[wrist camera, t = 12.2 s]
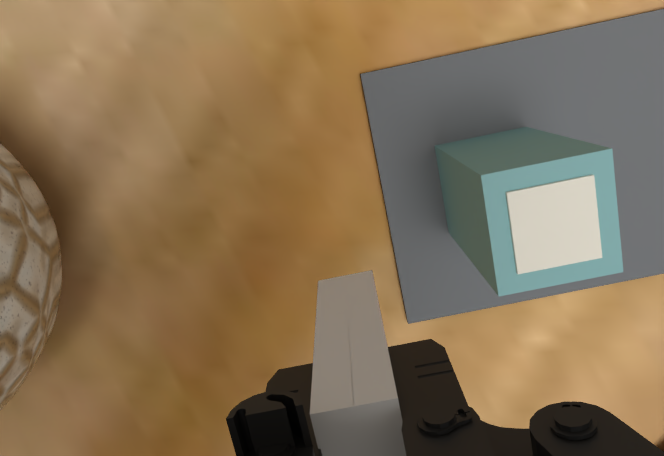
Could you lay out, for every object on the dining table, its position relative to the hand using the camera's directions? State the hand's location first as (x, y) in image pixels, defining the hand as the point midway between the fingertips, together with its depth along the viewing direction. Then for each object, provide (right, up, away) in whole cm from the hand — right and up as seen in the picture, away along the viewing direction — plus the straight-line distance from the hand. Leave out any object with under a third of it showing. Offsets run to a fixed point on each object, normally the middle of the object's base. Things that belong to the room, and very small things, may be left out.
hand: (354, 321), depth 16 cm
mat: (+10, +5, +13) cm, 18 cm away
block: (+7, +5, +13) cm, 16 cm away
